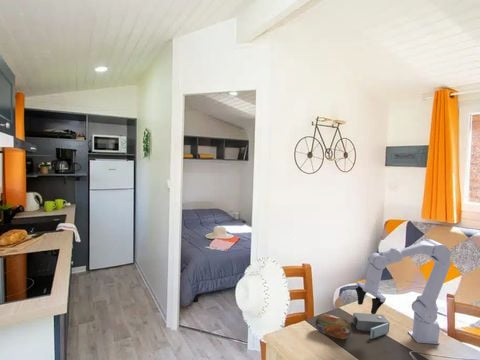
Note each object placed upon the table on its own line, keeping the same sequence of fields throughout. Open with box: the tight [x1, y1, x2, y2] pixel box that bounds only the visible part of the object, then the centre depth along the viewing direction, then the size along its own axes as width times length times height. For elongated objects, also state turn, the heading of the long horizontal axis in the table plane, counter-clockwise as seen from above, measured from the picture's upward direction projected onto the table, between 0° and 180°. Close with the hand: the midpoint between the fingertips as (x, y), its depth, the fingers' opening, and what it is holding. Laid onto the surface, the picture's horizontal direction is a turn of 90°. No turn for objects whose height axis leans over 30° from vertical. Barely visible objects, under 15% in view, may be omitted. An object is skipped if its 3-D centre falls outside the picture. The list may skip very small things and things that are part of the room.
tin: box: [315, 313, 352, 340], centre depth 128 cm, size 15×3×8 cm, turn 62°
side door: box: [369, 323, 390, 339], centre depth 129 cm, size 11×1×4 cm, turn 118°
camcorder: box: [351, 312, 391, 333], centre depth 136 cm, size 15×7×5 cm, turn 88°
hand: (366, 308), depth 130 cm, fingers open, 7 cm apart
